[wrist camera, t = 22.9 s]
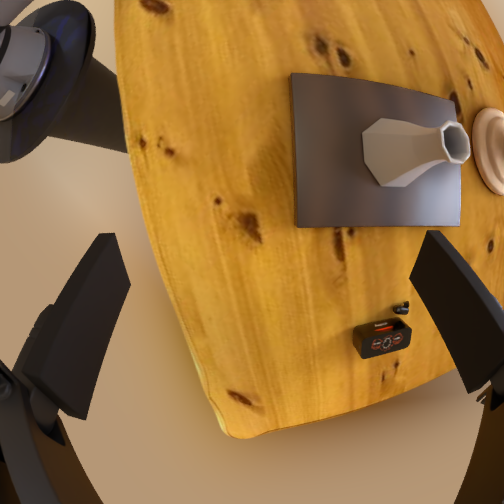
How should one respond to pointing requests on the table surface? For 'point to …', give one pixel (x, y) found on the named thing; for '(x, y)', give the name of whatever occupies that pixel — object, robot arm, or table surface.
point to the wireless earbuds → (383, 335)
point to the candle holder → (490, 147)
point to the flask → (411, 149)
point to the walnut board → (352, 156)
